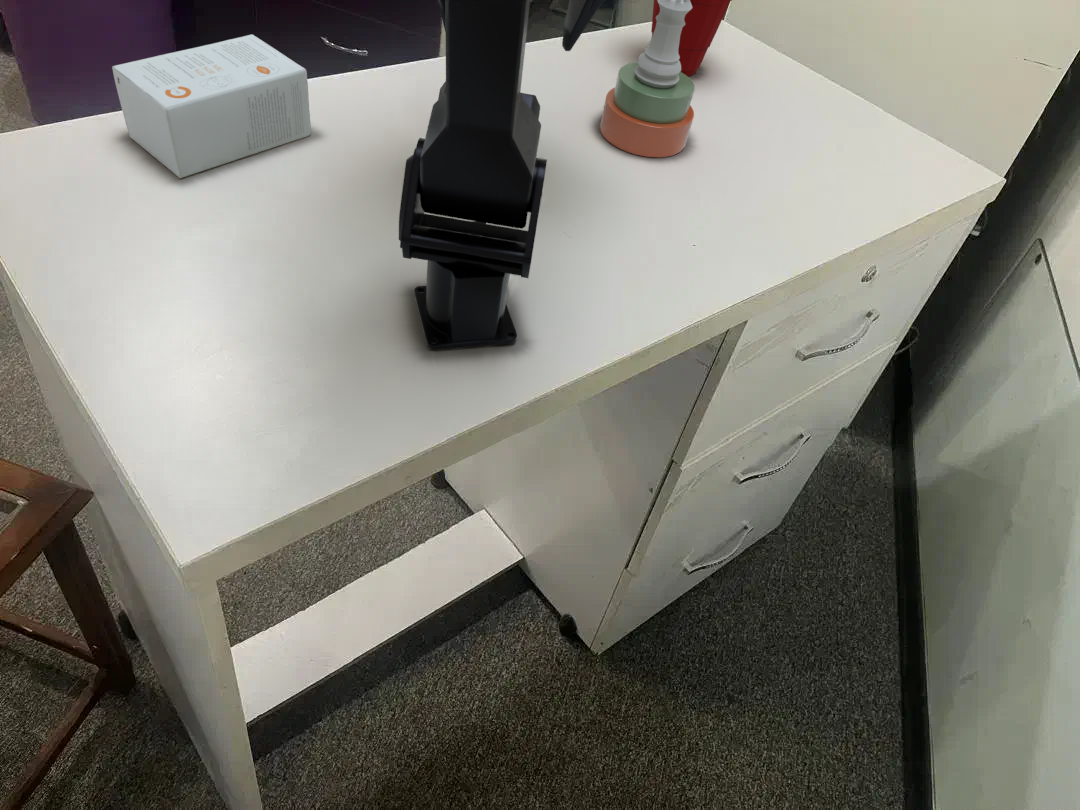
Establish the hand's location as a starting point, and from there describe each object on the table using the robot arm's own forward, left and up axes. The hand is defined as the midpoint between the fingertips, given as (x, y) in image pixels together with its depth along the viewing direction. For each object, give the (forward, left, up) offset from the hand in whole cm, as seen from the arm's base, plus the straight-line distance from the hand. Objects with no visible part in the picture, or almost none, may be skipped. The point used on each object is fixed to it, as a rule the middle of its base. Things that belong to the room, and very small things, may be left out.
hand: (509, 47), depth 60 cm
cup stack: (+9, -18, -12) cm, 24 cm away
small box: (+13, +17, -9) cm, 23 cm away
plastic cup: (+25, -28, -13) cm, 39 cm away
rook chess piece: (+9, -18, -7) cm, 21 cm away
